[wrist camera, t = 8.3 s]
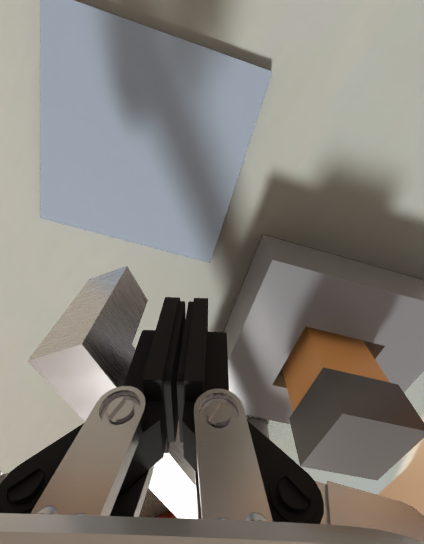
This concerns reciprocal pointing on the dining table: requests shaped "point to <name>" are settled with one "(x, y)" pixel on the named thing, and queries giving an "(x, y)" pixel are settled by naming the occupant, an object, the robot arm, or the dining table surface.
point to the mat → (140, 129)
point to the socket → (317, 320)
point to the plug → (346, 407)
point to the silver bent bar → (109, 369)
